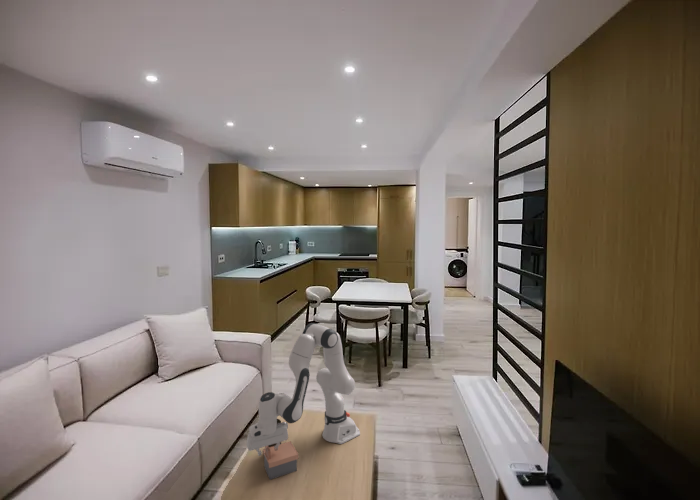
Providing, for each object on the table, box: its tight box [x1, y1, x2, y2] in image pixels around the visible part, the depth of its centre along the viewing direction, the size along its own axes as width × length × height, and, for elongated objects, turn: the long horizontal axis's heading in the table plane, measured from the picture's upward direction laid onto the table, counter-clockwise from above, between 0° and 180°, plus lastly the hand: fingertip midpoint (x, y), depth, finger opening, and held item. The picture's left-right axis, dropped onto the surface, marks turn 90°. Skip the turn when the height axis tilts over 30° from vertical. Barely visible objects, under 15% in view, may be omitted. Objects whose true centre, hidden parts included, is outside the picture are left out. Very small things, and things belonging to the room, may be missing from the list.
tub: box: [263, 454, 298, 481], centre depth 181 cm, size 14×10×8 cm
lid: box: [262, 440, 299, 468], centre depth 181 cm, size 15×12×6 cm
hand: (267, 452), depth 178 cm, fingers open, 7 cm apart
